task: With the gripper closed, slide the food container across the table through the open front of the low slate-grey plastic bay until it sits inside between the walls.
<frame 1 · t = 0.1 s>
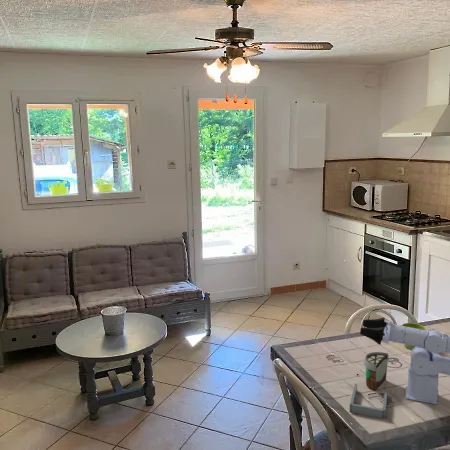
hand: (361, 326, 158), 22 cm above the table, tool horizontal, fingers open, 7 cm apart
food container: (372, 383, 163), on the table
plant pot: (412, 347, 191), on the table
bay: (368, 403, 150), on the table
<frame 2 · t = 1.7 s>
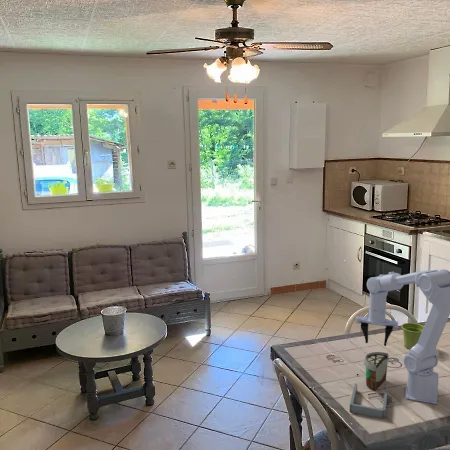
hand: (375, 343, 171), 10 cm above the table, tool pointing down, fingers open, 6 cm apart
nothing on the table moved.
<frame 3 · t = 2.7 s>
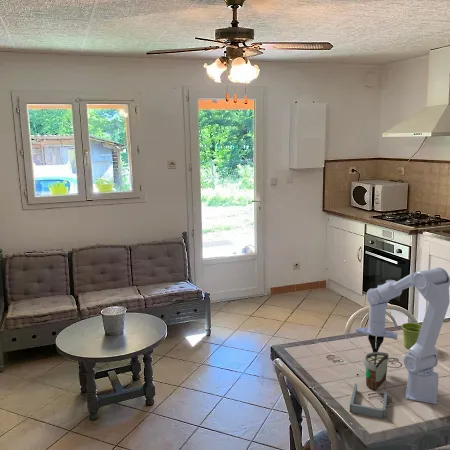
hand: (375, 354, 172), 6 cm above the table, tool pointing down, fingers closed
nothing on the table moved.
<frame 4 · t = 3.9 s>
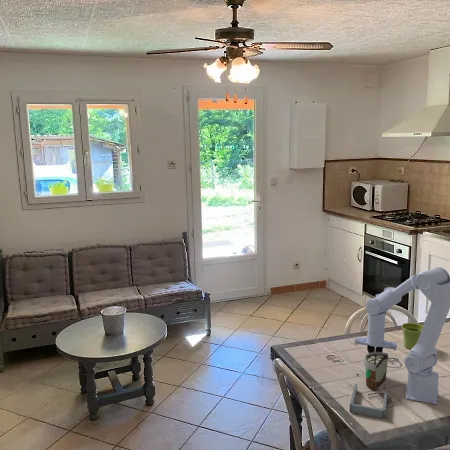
hand: (374, 365, 169), 3 cm above the table, tool pointing down, fingers closed
food container: (372, 383, 163), on the table, touching gripper
everything else where it was.
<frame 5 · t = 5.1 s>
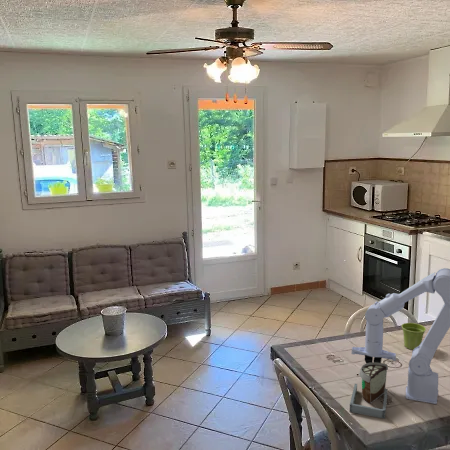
hand: (372, 375, 161), 3 cm above the table, tool pointing down, fingers closed
food container: (369, 395, 156), on the table, touching gripper
everything else where it was.
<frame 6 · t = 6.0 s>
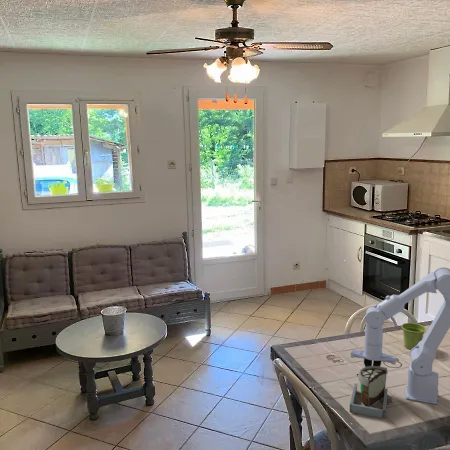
hand: (371, 379, 159), 3 cm above the table, tool pointing down, fingers closed
food container: (368, 399, 153), on the table, touching gripper
everything else where it was.
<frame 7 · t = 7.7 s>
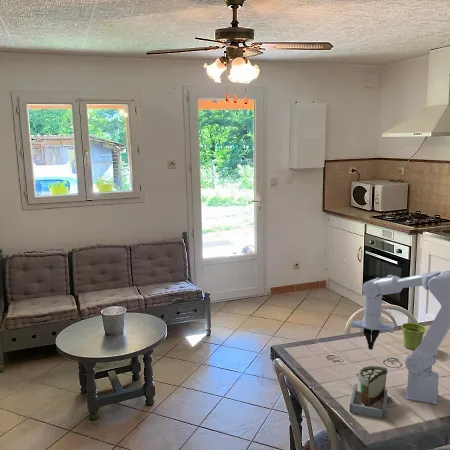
hand: (370, 348, 167), 10 cm above the table, tool pointing down, fingers closed
food container: (368, 399, 153), on the table
everything else where it was.
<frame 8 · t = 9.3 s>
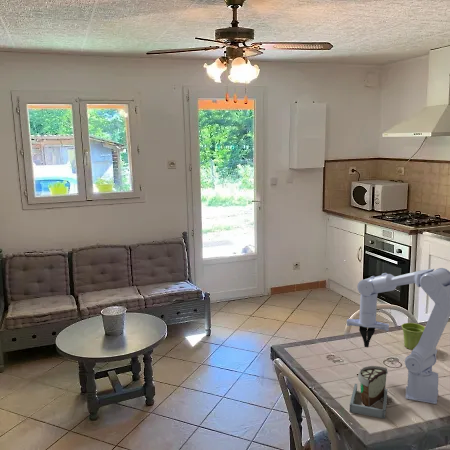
hand: (366, 346, 169), 10 cm above the table, tool pointing down, fingers closed
nothing on the table moved.
at the end: food container 1.9 cm from the target spot on the bay, point 0.0 cm above the bay's base; food container tilted 0°; food container moved 10.9 cm from its start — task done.
